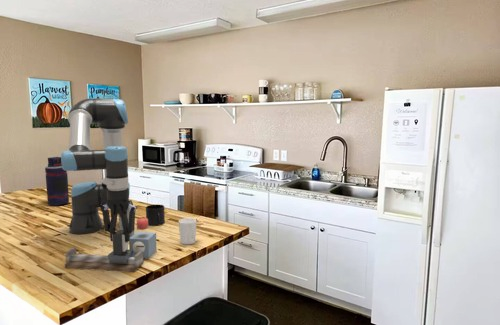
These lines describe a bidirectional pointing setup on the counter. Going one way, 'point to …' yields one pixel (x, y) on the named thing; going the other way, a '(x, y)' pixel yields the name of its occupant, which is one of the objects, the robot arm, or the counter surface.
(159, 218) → the mug
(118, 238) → the carriage
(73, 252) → the rail
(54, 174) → the striped navy bottle
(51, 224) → the counter surface
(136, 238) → the pale blue block
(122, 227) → the coffee box
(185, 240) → the white cup
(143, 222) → the plunger
